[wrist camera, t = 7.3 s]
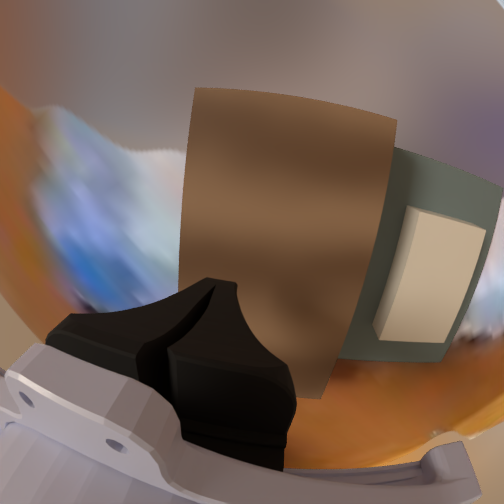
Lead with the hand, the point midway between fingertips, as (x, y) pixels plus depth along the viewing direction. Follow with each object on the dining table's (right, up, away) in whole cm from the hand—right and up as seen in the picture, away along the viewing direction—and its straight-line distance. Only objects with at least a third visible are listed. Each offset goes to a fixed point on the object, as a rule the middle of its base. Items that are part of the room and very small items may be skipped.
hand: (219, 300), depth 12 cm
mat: (+14, 0, +6) cm, 15 cm away
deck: (+3, +2, +7) cm, 8 cm away
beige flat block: (+14, 0, +4) cm, 14 cm away
